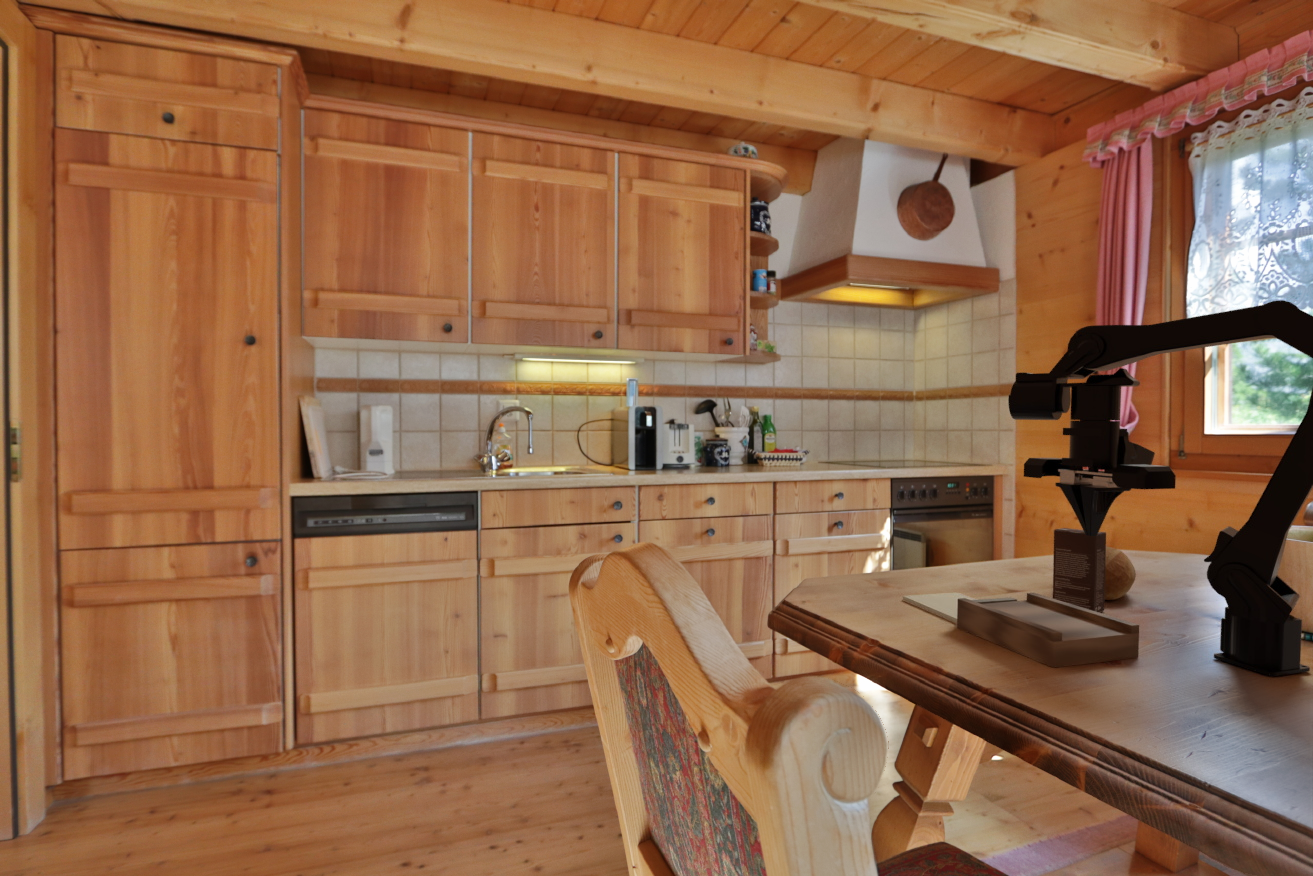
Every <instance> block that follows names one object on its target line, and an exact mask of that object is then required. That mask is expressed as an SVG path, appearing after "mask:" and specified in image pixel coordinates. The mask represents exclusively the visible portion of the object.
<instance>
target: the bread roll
mask: <svg viewBox="0 0 1313 876" xmlns="http://www.w3.org/2000/svg"><path fill="white" fill-rule="evenodd" d="M1105 559H1106V560H1105V601H1106V600H1107V601H1108V600H1109V601H1110V600H1118V599H1119V598H1122V597H1124V596H1125V595H1126V594H1127V593H1128V592H1129V591H1130V590H1131V588H1132V586H1133V584H1134V583H1135V580H1136V577H1137V574H1136V573H1137V572H1136V568H1135V565H1134V564H1133V563H1132V560H1131V559H1130V558H1129V557H1128V555H1127V554H1126V553H1125V552H1123V551H1122V550H1120V549H1117V548H1114V547H1111V546H1108V545H1106V557H1105Z"/></svg>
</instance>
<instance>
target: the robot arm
mask: <svg viewBox="0 0 1313 876" xmlns="http://www.w3.org/2000/svg"><path fill="white" fill-rule="evenodd" d="M1269 338H1270V339H1278V340H1279V341H1280V342H1282V343H1284V344H1286V345H1287V346H1290V347H1291V348H1293V349H1295V350H1297V351H1298V352H1301V353H1302V354H1304V355H1306V356H1308V357H1309V358H1311V359H1313V315H1312V314H1309V313H1307V312H1306V311H1304V310H1301V309H1300V308H1299V307H1298V306H1297V305H1296V304H1294V303H1293V302H1291V301H1287V300H1272V301H1269V302H1266V303H1265V304H1261V305H1255V306H1251V307H1243V308H1238V309H1232V310H1226V311H1221V312H1216V313H1209V314H1205V315H1204V314H1203V315H1199V316H1193V317H1187V318H1182V319H1174V320H1170V321H1163V322H1158V323H1153V324H1105V325H1104V324H1102V325H1101V324H1100V325H1095V324H1094V325H1087V326H1083V327H1081V328H1079V329H1078V330H1076V331H1075V333H1073V334H1072V336H1071V337H1070V339H1069V341H1068V343H1067V351H1066V352H1065V353H1064V354H1063V356H1062V357H1061V358H1060V359H1059V360H1058V362H1057V363H1056V364H1055V365H1054V366H1053V368H1052V369H1051V370H1050V371H1049V372H1043V373H1041V372H1039V373H1031V372H1017V373H1015V381H1014V382H1013V384H1012V387H1011V389H1010V394H1009V395H1008V399H1007V400H1008V403H1007V404H1008V409H1009V410H1008V411H1009V414H1010V416H1011V418H1012V419H1013V420H1016V421H1017V420H1020V421H1021V420H1025V421H1039V420H1040V421H1059V420H1060V419H1061V417H1062V415H1063V414H1067V413H1068V412H1069V411H1070V421H1069V423H1070V424H1069V427H1063V428H1062V436H1069V450H1068V451H1069V456H1068V457H1028V459H1027V460H1026V461H1025V462H1024V464H1023V477H1025V478H1032V479H1033V478H1035V479H1041V478H1043V477H1059V482H1055V483H1054V485H1055V487H1057V488H1058V487H1059V488H1060V490H1061V491H1062V493H1063V495H1064V496H1065V498H1066V500H1067V501H1068V503H1069V504H1070V507H1071V508H1072V510H1073V513H1074V515H1075V516H1076V517H1077V520H1078V522H1079V524H1080V527H1081V529H1082V530H1084V532H1085V534H1086V535H1087V536H1097V534H1098V532H1100V530H1101V527H1102V525H1103V523H1104V521H1105V519H1106V516H1107V514H1108V513H1109V510H1110V509H1111V506H1112V505H1113V504H1114V501H1115V500H1116V499H1117V498H1118V497H1119V496H1121V494H1123V493H1124V492H1131V490H1170V489H1172V490H1173V489H1175V490H1176V479H1177V478H1176V473H1175V472H1174V471H1173V469H1172V468H1171V466H1169V465H1159V464H1158V465H1155V464H1153V462H1154V458H1155V454H1156V452H1155V451H1152V450H1150V449H1148V448H1146V447H1144V446H1142V445H1140V444H1138V443H1135V442H1132V441H1130V439H1129V438H1130V437H1129V435H1130V433H1129V432H1128V428H1121V405H1122V404H1121V402H1122V388H1123V387H1125V388H1126V387H1127V388H1129V387H1139V386H1140V385H1141V382H1140V381H1139V380H1138V379H1137V378H1135V377H1133V376H1132V375H1131V373H1130V372H1129V371H1128V369H1126V368H1124V367H1125V366H1127V365H1131V364H1132V365H1133V364H1134V363H1136V362H1140V361H1142V360H1145V359H1148V358H1151V357H1153V356H1154V357H1155V356H1158V355H1162V354H1169V353H1174V352H1175V353H1176V352H1183V351H1189V350H1195V349H1203V348H1208V347H1209V348H1210V347H1216V346H1223V345H1229V344H1236V343H1241V342H1249V341H1255V340H1262V339H1263V340H1264V339H1269ZM1114 369H1115V370H1116V369H1117V371H1115V372H1114V373H1113V374H1112V373H1111V374H1108V373H1107V374H1094V373H1096V372H1107V371H1111V370H1114ZM1085 379H1086V381H1085V382H1068V381H1069V380H1085ZM1297 427H1298V428H1297V430H1296V431H1295V432H1294V435H1293V437H1292V438H1291V440H1290V442H1289V443H1288V446H1287V447H1286V449H1285V451H1284V453H1283V455H1282V456H1281V459H1280V461H1279V462H1278V464H1277V466H1276V467H1275V469H1274V472H1273V474H1272V475H1271V476H1270V477H1271V478H1270V479H1269V481H1268V483H1267V485H1266V486H1265V488H1264V490H1263V492H1262V493H1261V496H1260V497H1259V499H1258V501H1257V503H1256V505H1255V507H1254V508H1253V510H1252V512H1251V514H1250V516H1249V518H1248V520H1247V521H1246V522H1245V523H1244V525H1242V527H1241V528H1240V529H1239V530H1238V529H1236V528H1235V527H1232V526H1229V525H1228V526H1227V527H1225V528H1224V529H1221V530H1220V531H1219V533H1218V535H1217V537H1216V538H1217V539H1216V542H1215V545H1214V547H1213V548H1214V549H1213V550H1212V552H1211V553H1210V554H1209V555H1208V556H1207V557H1206V558H1204V559H1203V561H1204V563H1209V565H1208V567H1207V570H1206V578H1207V580H1208V582H1209V584H1210V587H1211V589H1213V590H1214V591H1215V592H1216V593H1217V595H1220V596H1221V597H1222V598H1224V600H1225V603H1226V605H1227V606H1225V608H1224V617H1222V618H1221V619H1220V640H1219V650H1220V652H1217V653H1213V658H1214V659H1216V660H1219V661H1222V662H1225V663H1228V664H1232V665H1234V666H1238V667H1241V668H1243V669H1247V670H1251V671H1254V672H1257V673H1260V674H1263V675H1265V676H1270V677H1278V676H1285V675H1291V674H1300V673H1308V672H1310V670H1311V667H1310V666H1308V665H1306V664H1302V663H1301V655H1302V652H1301V651H1302V634H1303V633H1302V631H1303V630H1302V628H1303V619H1301V618H1300V617H1299V618H1297V617H1295V616H1294V615H1292V614H1291V613H1292V611H1293V610H1294V608H1295V607H1296V605H1297V603H1298V601H1299V599H1300V597H1301V596H1300V594H1299V593H1298V592H1297V591H1296V590H1295V589H1294V588H1293V587H1291V586H1290V585H1289V584H1288V583H1287V582H1285V580H1283V579H1282V578H1281V577H1280V576H1279V575H1278V574H1279V569H1280V566H1281V562H1282V560H1283V559H1282V558H1283V556H1284V551H1285V546H1286V543H1287V539H1288V535H1289V532H1290V529H1291V528H1292V526H1293V524H1294V522H1295V520H1296V518H1297V517H1298V515H1299V513H1300V511H1301V509H1302V508H1303V506H1304V504H1305V502H1306V501H1307V499H1308V498H1309V496H1310V493H1311V492H1312V490H1313V387H1312V388H1311V394H1310V398H1309V402H1308V405H1307V409H1306V412H1305V414H1304V416H1303V418H1302V420H1301V422H1300V423H1299V425H1298V426H1297ZM1084 468H1085V469H1084ZM1086 468H1087V469H1086Z"/></svg>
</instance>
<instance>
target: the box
mask: <svg viewBox="0 0 1313 876" xmlns="http://www.w3.org/2000/svg"><path fill="white" fill-rule="evenodd" d="M1106 546H1107V532H1106V531H1105V532H1104V531H1099V532H1098V534H1097V536H1087V535H1086V534H1085V532H1084V530H1083V529H1078V528H1069V527H1062V528H1055V529H1054V530H1053V561H1052V562H1053V566H1052V567H1053V571H1052V572H1053V573H1052V574H1053V575H1052V598H1053V599H1056V600H1059V601H1063V602H1066V603H1069V604H1073V605H1076V606H1079V607H1082V608H1086V609H1089V610H1092V611H1096V612H1099V613H1102V612H1104V611H1105V601H1106V600H1105V560H1106V559H1105V557H1106Z"/></svg>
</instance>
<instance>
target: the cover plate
mask: <svg viewBox="0 0 1313 876" xmlns="http://www.w3.org/2000/svg"><path fill="white" fill-rule="evenodd" d="M960 598H966V599H969V600H972V601H974V602H977V603H980V604H987V603H999V602H1011V601H1018V599H1017V598H1014V597H1012V596H1011V597H999V598H998V597H995V598H983V599H982V598H981V599H980V598H979V599H976V598H974V597H972V596H968V595H965V594H962V593H960V592H957V591H956V592H944V593H943V592H941V593H929V594H928V593H926V594H910V595H902V601H904V602H906V603H908V604H911V605H913V606H915V607H917V608H920V609H923V610H924V611H927V612H929V613H932V614H933V615H936V616H937V617H941V619H945V620H947V621H949V622H952V623H954V624H956V625H957V607H958V599H960Z"/></svg>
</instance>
